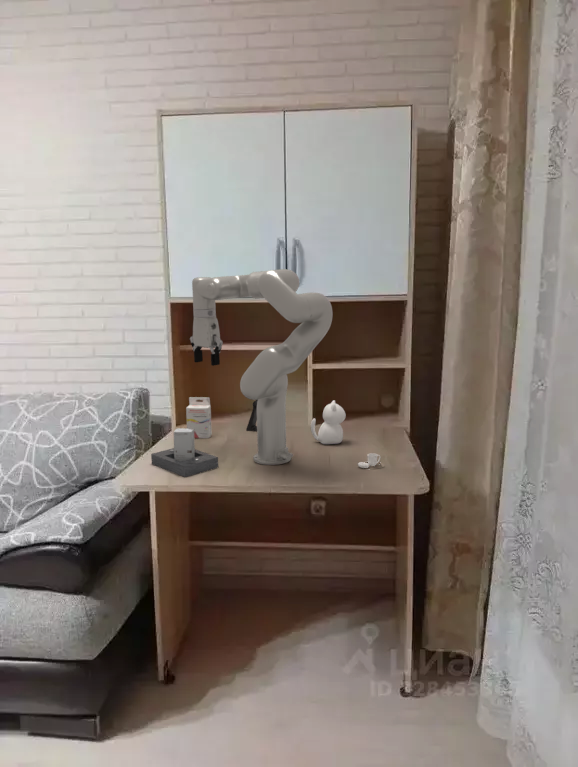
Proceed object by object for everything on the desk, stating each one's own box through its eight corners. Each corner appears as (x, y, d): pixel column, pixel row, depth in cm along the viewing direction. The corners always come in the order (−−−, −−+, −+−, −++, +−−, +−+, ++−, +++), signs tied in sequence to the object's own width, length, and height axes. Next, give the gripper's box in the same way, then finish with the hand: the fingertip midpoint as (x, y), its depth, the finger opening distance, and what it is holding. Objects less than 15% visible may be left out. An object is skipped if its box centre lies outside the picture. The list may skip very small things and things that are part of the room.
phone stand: (246, 430, 262) (245, 400, 260) (251, 426, 268) (250, 397, 265) (268, 432, 260) (267, 401, 257) (273, 428, 265) (272, 398, 263)
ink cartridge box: (186, 438, 253) (184, 399, 250) (190, 434, 258) (188, 396, 255) (209, 438, 253) (207, 399, 250) (212, 434, 257) (210, 396, 254)
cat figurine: (346, 446, 239) (346, 404, 236) (310, 446, 240) (310, 405, 237) (345, 439, 248) (345, 399, 245) (311, 439, 249) (310, 399, 246)
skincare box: (174, 467, 219) (172, 431, 217) (177, 463, 224) (175, 428, 221) (193, 468, 219) (191, 431, 216) (196, 463, 223) (194, 428, 221)
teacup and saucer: (358, 471, 214) (358, 458, 213) (356, 463, 222) (356, 451, 221) (386, 470, 214) (386, 458, 213) (383, 462, 221) (383, 450, 221)
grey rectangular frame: (218, 467, 219) (217, 456, 218) (184, 477, 210) (184, 465, 209) (184, 455, 233) (184, 444, 232) (151, 464, 224) (151, 452, 223)
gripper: (229, 314, 227) (231, 364, 231) (198, 311, 240) (201, 359, 243) (211, 316, 222) (213, 367, 226) (181, 313, 235) (183, 362, 238)
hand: (206, 363), depth 235 cm, fingers open, 9 cm apart
